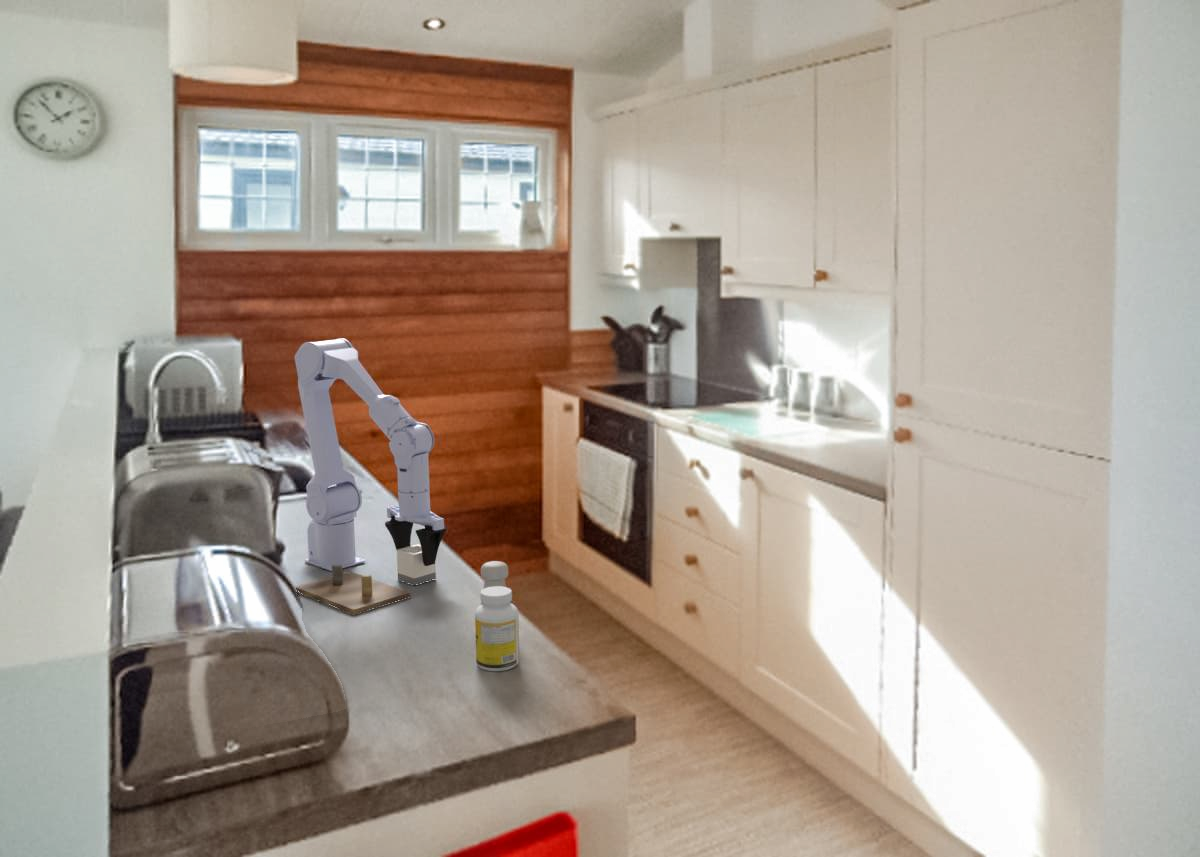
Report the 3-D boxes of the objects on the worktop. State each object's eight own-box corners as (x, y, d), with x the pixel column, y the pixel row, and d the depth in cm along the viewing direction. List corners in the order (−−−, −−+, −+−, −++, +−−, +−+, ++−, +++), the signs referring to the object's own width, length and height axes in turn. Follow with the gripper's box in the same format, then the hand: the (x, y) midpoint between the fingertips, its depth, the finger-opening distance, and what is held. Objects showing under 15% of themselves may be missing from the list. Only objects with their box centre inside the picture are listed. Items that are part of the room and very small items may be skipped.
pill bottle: (495, 653, 166) (493, 581, 164) (528, 662, 163) (526, 589, 161) (467, 666, 161) (465, 592, 159) (500, 676, 157) (498, 601, 155)
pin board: (295, 592, 195) (294, 568, 194) (351, 576, 204) (350, 553, 203) (354, 615, 183) (352, 589, 182) (410, 597, 192) (409, 573, 191)
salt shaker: (508, 649, 168) (506, 569, 165) (472, 647, 169) (471, 567, 166) (518, 636, 173) (517, 558, 171) (484, 633, 174) (482, 556, 172)
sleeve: (397, 580, 201) (396, 549, 200) (419, 574, 205) (418, 544, 204) (414, 586, 198) (413, 554, 197) (435, 579, 202) (434, 549, 200)
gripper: (372, 487, 200) (375, 557, 203) (421, 499, 191) (424, 573, 193) (402, 481, 205) (405, 549, 208) (452, 492, 196) (454, 564, 198)
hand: (416, 560), depth 201 cm, fingers open, 7 cm apart
